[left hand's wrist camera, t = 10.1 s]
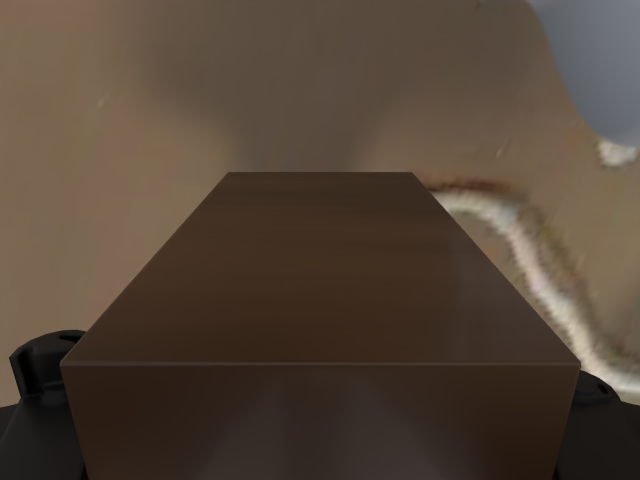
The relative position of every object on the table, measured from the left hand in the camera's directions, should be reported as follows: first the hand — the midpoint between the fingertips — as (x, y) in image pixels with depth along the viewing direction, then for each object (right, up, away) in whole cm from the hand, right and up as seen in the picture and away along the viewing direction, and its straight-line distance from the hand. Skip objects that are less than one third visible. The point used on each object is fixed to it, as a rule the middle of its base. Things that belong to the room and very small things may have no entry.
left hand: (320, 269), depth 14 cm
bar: (0, -10, +4) cm, 10 cm away
